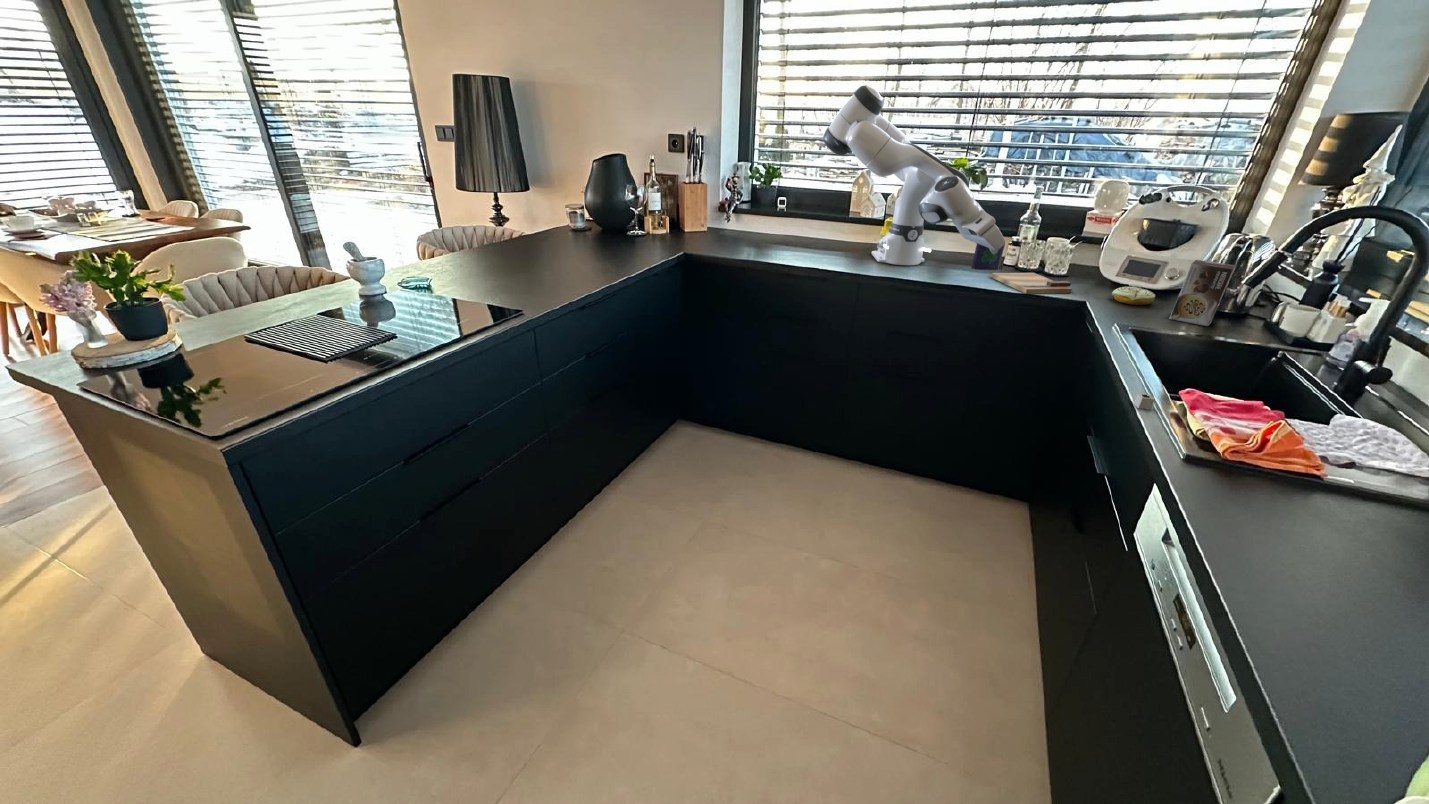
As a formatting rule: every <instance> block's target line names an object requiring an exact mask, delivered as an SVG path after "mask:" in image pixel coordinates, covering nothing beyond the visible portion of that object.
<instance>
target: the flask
mask: <svg viewBox="0 0 1429 804" xmlns="http://www.w3.org/2000/svg"><path fill="white" fill-rule="evenodd" d="M1005 246H1006V243H1005V244H1004V245H1003V246H1002V247H1001V248H1000V249H998V252H997V253H996V254H991V253H990V251H989V248H988V247H985V246H983V245H980V244H978V243H976V246H975V250H974V254H973V258H972V261H971V266H970V269H972V270H976V271H977V270H979V271H998V270H999V268H1000V265H1001V261H1002V257H1003V253H1004V250H1005Z"/></svg>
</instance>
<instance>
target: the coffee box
mask: <svg viewBox="0 0 1429 804" xmlns="http://www.w3.org/2000/svg"><path fill="white" fill-rule="evenodd" d="M1189 266H1190V267H1189V269H1188V271H1187V275H1186V277H1185V279H1184V281H1183V284H1182V286H1181V290H1180V292H1179V294H1178V296H1177V299H1176V301H1175V303H1174V306H1173V309H1172V310H1171V314H1170V316H1169V318H1168V319H1169V320H1174V321H1178V322H1185V323H1189V324H1195V325H1200V326H1204V327H1209V326H1210V325H1211V323H1212V321H1213V319H1214V317H1215V315H1216V312H1217V310H1218V308H1219V306H1220V302H1221V301H1222V299H1223V296H1224V294H1225V291H1226V289H1227V287H1228V285H1229V283H1230V280H1231V278H1232V276H1233V273H1234V271H1235V270H1236V267H1237V265H1236V264H1230V263H1229V264H1228V263H1223V262H1215V261H1208V260H1202V259H1201V260H1200V259H1195V260H1193V262H1192V263H1191V264H1190V265H1189Z"/></svg>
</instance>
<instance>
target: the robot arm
mask: <svg viewBox="0 0 1429 804" xmlns="http://www.w3.org/2000/svg"><path fill="white" fill-rule="evenodd" d="M883 107H884V100H883V98H882V96H881V94H880V92H879V91H878V90H877V89H876V88H874V87H872V86H869V85H867V84H866V85H865V84H864V85H861V86H858V88H857V89H856V90H855V91H854V92H853V94H852V95H851V96H850V98H848V100H846V102H844V104H843V105H842V106H841V108H840V109H839V111H838V113H837V114H836V115H835V116H834V118H833V120H832V122H831V123H830V125H828V126H829V127H827V128H826V130H825V132H824V134H823V136H822V138H823V143H824V145H825V146H826V148H827V149H828V150H829V151H830V152H831V153H833V154H836V155H838V156H844V155H845V156H846V155H847V154H854V155H855V157H856V158H857V159H858V160H859V161H860V162H861V163H862V165H864V166H865V167H866V168H867V169H868V170H869V171H870V172H871V173H873V174H874V175H876V176H878V177H889V176H892V175H894V176H895V177H897V178H898V179H899V180H900V181H902V182H903V187H902V189H901V192H900V194H899V196H898V197H897V199H896V200H895V203H894V211H893V217H892V221H891V222H890V225H889V227H888V232H887V233H886V234H885V235H884V236H883V237H881V238H880V240H879V241H878V242H876V248H877V250H872V251H871V255H872V256H873V258H874V259H875V260H876V261H877V262H878V263H885V264H889V265H890V264H891V265H897V266H917V265H920V264H921V263H924V262H925V260H926V259H925V258H924V257H923V254H924V253H923V252H926V253H927V252H928V253H931V252H932V249H931V248H927V247H924V244H925V240H924V238H923V236H922V235H923V234H924V230H925V228H924V226H925V225H924V222H926V223H928V224H931V225H934V224H940V223H944V222H946V221H947V220H951V222H952V224H954V226H955V228H956V229H957V231H958V232H959V233H960V235H961V236H962V237H963V238H964V239H965V240H968V241H969V242H973V243H975V244H977V243H978V244H980V245H983V246H985V247H988V248H989V251H990V253H991V254H996V253H997V252H998V249H1000V248H1001V247H1002V246H1003V245H1004V244H1005V245H1006V239H1005V237H1004V235H1003V233H1002V232H1001V230H1000V228H999V227H998V226H997V224H996V219H995V217H994V216H992V215H991V214H989V213H987V212H986V211H985V210H984V209H983V207H982V206H981V205H980V203H979V202H978V201H976V200H975V197H974V194H973V192H972V191H971V189H970V183H969V179H968V177H967V175H966V174H965V173H964V172H963V171H961V170H959V169H957V168H954V167H952V166H950V165H948V164H946V163H945V162H944V161H942V160H941V159H940V158H939V157H938V156H937V155H936V154H934V153H932V152H928V151H927V150H926V149H923V148H922V147H921V146H919V145H917V144H914V143H912V142H911V141H910V140H909V139H908V137H907V135H906V134H905V133H904V132H903V131H901V130H900V129H899V128H898V127H897V126H895V125H894V124H893V123H892V122H891V121H889V119H887V118H886V117H884V116H883V115H882V114H881V113H882V110H883Z"/></svg>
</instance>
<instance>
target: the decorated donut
mask: <svg viewBox="0 0 1429 804" xmlns="http://www.w3.org/2000/svg"><path fill="white" fill-rule="evenodd" d="M1111 296H1112V297H1113V299H1114V300H1115V301H1117V302H1119V303H1121V304H1126V305H1131V306H1132V305H1134V306H1145V305H1150V304H1152V303H1153V302H1154V301H1155V298H1156V294H1155V293H1154V292H1152V291H1151V290H1148V289H1146V288H1145V289H1144V288H1141V287H1136V286H1121V287H1118V288H1116V289H1114V290H1113V291H1112V292H1111Z"/></svg>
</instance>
